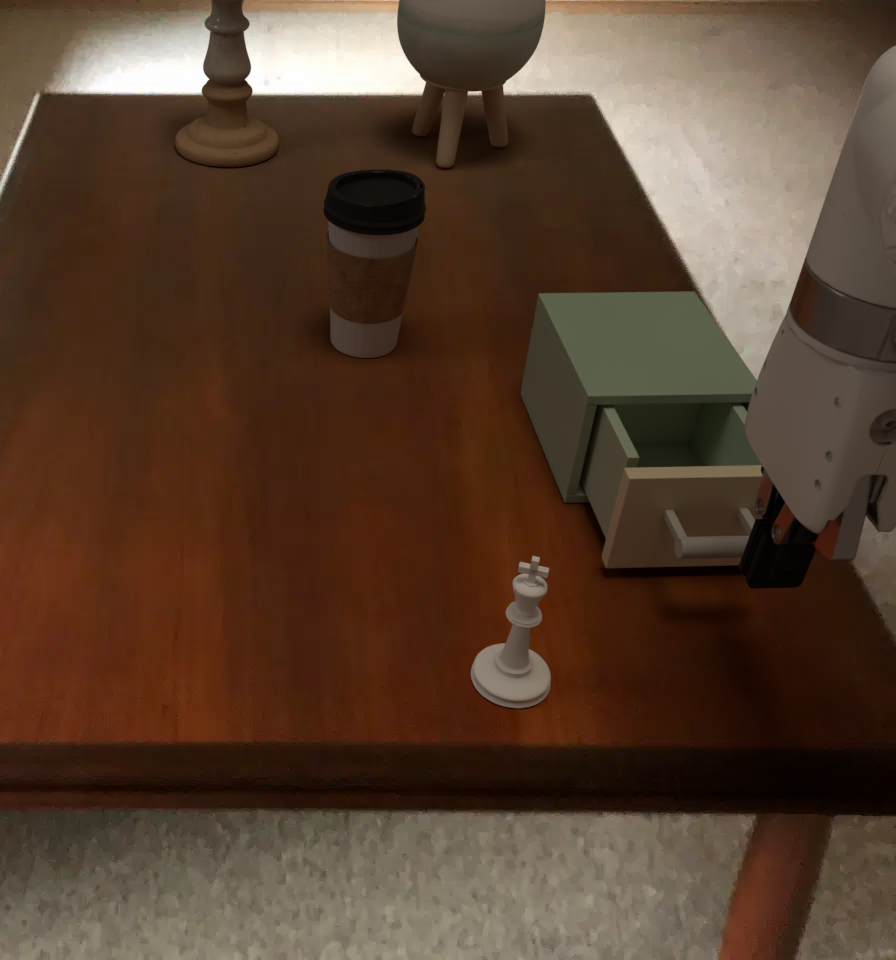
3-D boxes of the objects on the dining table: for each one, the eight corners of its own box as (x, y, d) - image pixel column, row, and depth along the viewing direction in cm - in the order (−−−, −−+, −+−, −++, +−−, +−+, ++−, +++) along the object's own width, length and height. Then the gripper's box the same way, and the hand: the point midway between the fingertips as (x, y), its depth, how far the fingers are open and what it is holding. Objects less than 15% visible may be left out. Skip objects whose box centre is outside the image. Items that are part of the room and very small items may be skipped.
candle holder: (153, 150, 139) (146, -30, 126) (219, 120, 147) (218, -53, 134) (236, 177, 133) (236, -9, 121) (299, 144, 141) (306, -34, 128)
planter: (543, 142, 142) (576, -56, 129) (489, 188, 132) (520, -22, 118) (422, 114, 149) (441, -77, 135) (362, 156, 138) (377, -46, 125)
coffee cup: (408, 370, 102) (426, 208, 92) (311, 361, 103) (319, 200, 93) (413, 321, 108) (430, 166, 99) (321, 313, 109) (330, 158, 100)
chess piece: (545, 717, 71) (575, 596, 65) (464, 697, 72) (485, 577, 66) (554, 660, 75) (583, 541, 69) (477, 642, 76) (499, 523, 70)
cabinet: (730, 500, 88) (766, 393, 82) (564, 503, 87) (588, 395, 82) (667, 391, 100) (694, 290, 94) (519, 394, 99) (538, 292, 93)
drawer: (793, 607, 78) (830, 516, 73) (623, 611, 77) (649, 520, 72) (701, 448, 92) (726, 363, 87) (556, 451, 91) (574, 365, 86)
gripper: (1034, 390, 52) (889, 672, 64) (878, 235, 64) (780, 497, 75) (869, 393, 52) (754, 676, 63) (743, 237, 64) (665, 499, 75)
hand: (768, 578), depth 69 cm, fingers closed
